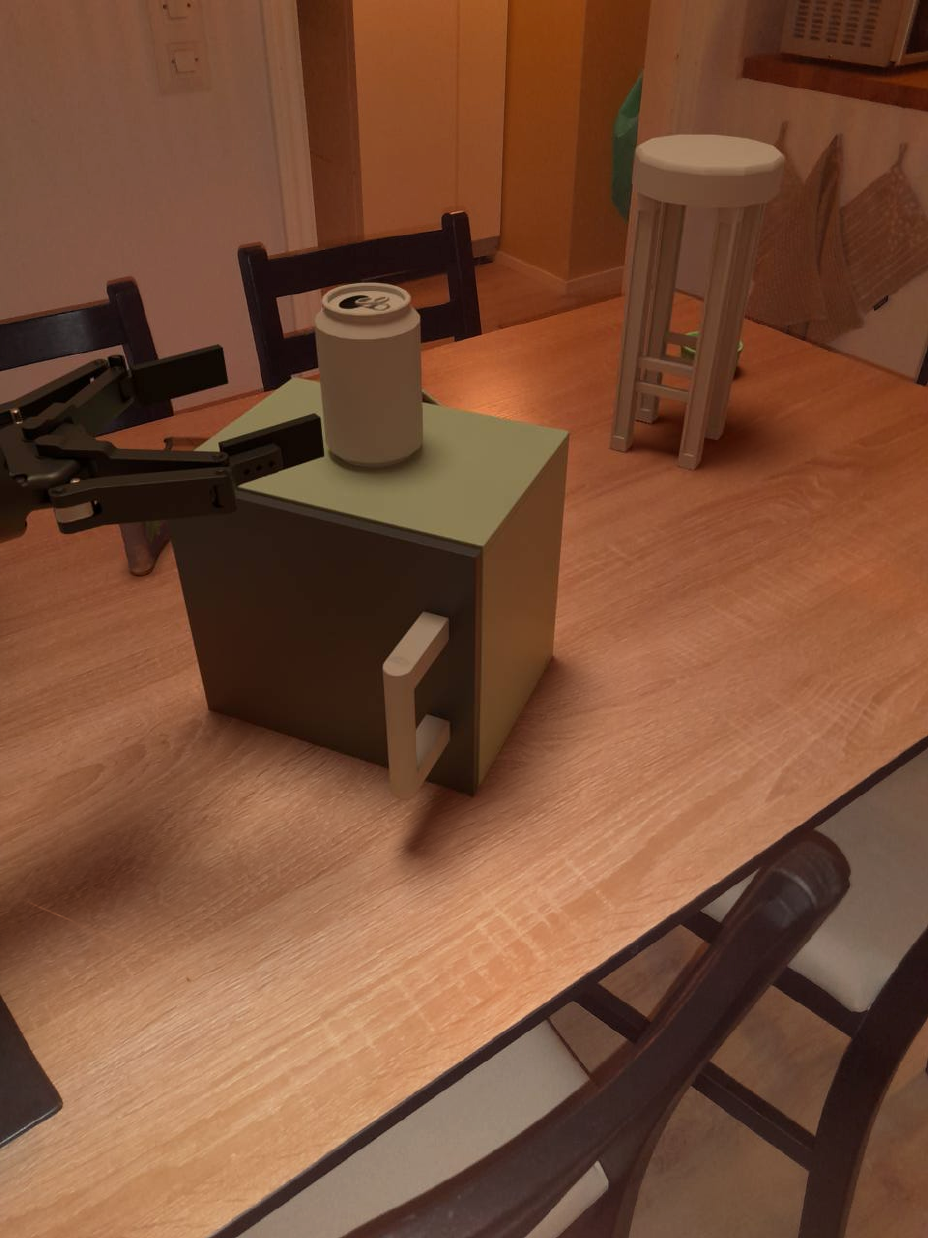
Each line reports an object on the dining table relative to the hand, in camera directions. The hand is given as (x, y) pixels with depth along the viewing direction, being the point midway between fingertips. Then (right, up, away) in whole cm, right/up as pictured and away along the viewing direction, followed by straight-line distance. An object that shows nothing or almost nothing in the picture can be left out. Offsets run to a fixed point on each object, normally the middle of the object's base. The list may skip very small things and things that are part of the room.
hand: (269, 396), depth 65 cm
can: (+6, -2, +10) cm, 12 cm away
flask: (-21, -8, +41) cm, 46 cm away
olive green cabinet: (+6, -20, +24) cm, 32 cm away
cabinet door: (+1, -28, +15) cm, 31 cm away
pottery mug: (-18, 0, +51) cm, 54 cm away
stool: (+40, +8, +61) cm, 73 cm away
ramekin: (+49, +22, +78) cm, 95 cm away
